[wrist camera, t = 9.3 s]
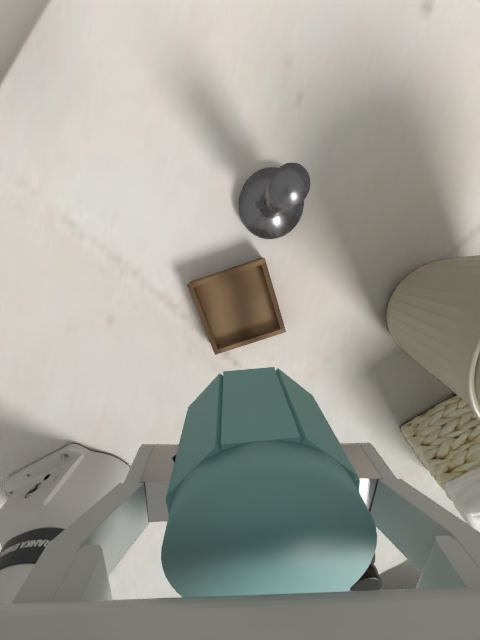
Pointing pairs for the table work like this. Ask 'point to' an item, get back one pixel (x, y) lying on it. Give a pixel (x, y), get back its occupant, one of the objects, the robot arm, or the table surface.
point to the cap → (263, 495)
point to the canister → (442, 323)
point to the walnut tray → (237, 306)
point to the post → (274, 200)
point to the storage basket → (451, 452)
